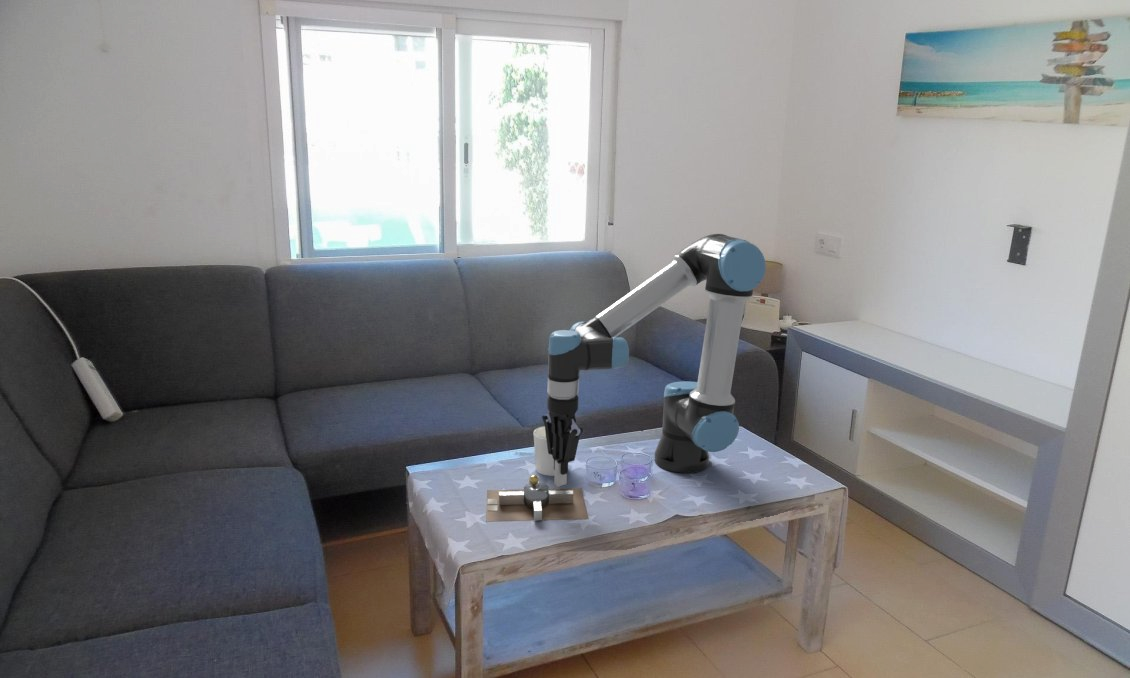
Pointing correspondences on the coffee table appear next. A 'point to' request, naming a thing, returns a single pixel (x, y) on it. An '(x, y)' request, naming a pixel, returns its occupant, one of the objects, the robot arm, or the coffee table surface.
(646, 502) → the coffee table surface
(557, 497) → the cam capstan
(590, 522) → the coffee table surface
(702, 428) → the robot arm
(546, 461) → the candle holder
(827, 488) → the coffee table surface
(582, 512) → the level base
